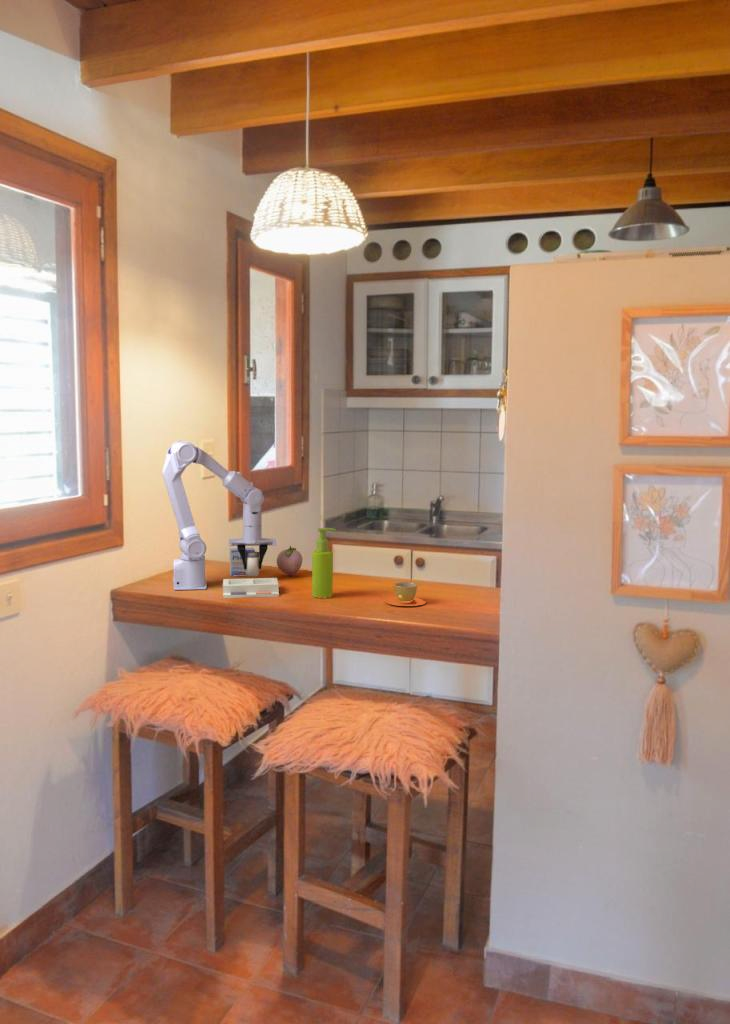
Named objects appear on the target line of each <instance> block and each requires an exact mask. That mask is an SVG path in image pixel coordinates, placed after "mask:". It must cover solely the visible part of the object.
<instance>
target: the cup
mask: <svg viewBox="0 0 730 1024" xmlns="http://www.w3.org/2000/svg"><path fill="white" fill-rule="evenodd" d="M393 587H394V593H395V597H397V599H398V600H400V601H411V600H413V599H414V598H415V597H416V594H417V591H418V583H415V582H407V581H400V582H396V583H394V585H393ZM398 600H397V601H398Z"/></svg>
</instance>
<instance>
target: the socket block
mask: <svg viewBox="0 0 730 1024" xmlns="http://www.w3.org/2000/svg"><path fill="white" fill-rule="evenodd" d="M279 588H280V587H279V582H278V578H277V577H259V578H258V577H257V578H256V577H255V578H223V580H222V599H239V598H241V599H242V598H270V597H271V598H272V597H273V598H274V597H277V598H278V597H280V593H279V591H280V590H279Z"/></svg>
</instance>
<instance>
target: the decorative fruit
mask: <svg viewBox="0 0 730 1024" xmlns="http://www.w3.org/2000/svg"><path fill="white" fill-rule="evenodd" d="M276 564H277V565H276V566H277V568H278V569H279V570H280V571H281V572H282V573H284V574H286V575H287V576H289V577H292V576H294V575H295V574H297V573H298V572H299V571H300V569H301V568H302V564H303V556H302V554H301V552H300V551H299V550H297V548H295V547H292V546H291V545H290V546H289V548H287V549H283V550H281V551H280V552H279V554H278V555H277V558H276Z"/></svg>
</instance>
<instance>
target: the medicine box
mask: <svg viewBox="0 0 730 1024" xmlns="http://www.w3.org/2000/svg"><path fill="white" fill-rule="evenodd" d="M245 549H246V552H251V551H254V552H256V549H255V548H254V547H245ZM229 575H230V577H232V576H233V575H246V569H244V565H243V561H242V558H241V555H240V553H239V551H238V549H237V547H236V548H229Z"/></svg>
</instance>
